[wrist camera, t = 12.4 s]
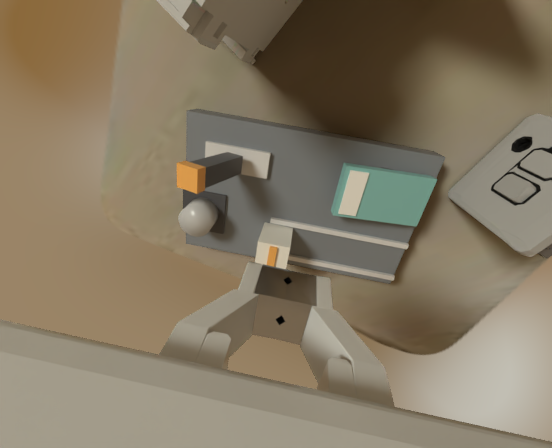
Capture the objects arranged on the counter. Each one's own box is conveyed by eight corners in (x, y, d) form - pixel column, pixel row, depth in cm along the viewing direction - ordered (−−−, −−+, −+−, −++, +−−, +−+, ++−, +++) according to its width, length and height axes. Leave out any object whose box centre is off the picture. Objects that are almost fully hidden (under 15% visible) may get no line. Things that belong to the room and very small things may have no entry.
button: (188, 194, 28) (178, 203, 26) (219, 200, 28) (211, 210, 26) (188, 222, 29) (178, 233, 27) (217, 228, 29) (210, 239, 27)
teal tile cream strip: (330, 210, 26) (333, 216, 25) (343, 162, 24) (347, 166, 23) (411, 221, 26) (417, 227, 25) (431, 175, 24) (438, 179, 23)
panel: (195, 108, 27) (181, 110, 24) (433, 151, 26) (448, 159, 23) (192, 232, 33) (181, 246, 30) (384, 270, 32) (391, 288, 29)
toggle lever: (226, 150, 25) (176, 162, 19) (244, 155, 24) (197, 169, 19) (225, 169, 26) (177, 186, 20) (242, 175, 25) (197, 193, 20)
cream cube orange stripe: (264, 222, 29) (257, 242, 25) (293, 227, 28) (290, 249, 25) (260, 246, 30) (253, 269, 26) (288, 251, 30) (284, 275, 26)
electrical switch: (530, 110, 24) (655, 132, 16) (565, 144, 25) (697, 180, 17) (442, 193, 28) (505, 244, 20) (476, 218, 29) (548, 277, 21)
